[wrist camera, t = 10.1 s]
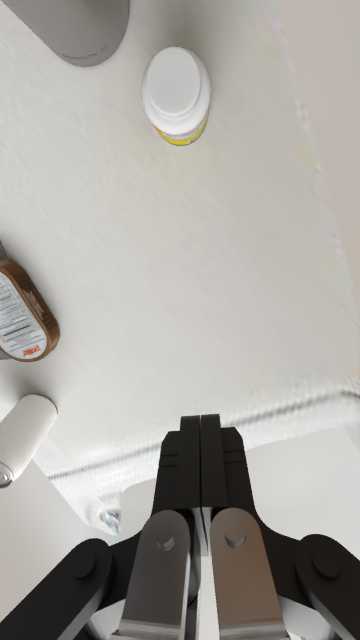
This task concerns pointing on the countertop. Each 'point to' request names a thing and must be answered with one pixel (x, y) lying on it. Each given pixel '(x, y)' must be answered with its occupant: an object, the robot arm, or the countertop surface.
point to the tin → (24, 317)
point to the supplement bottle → (177, 95)
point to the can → (23, 435)
